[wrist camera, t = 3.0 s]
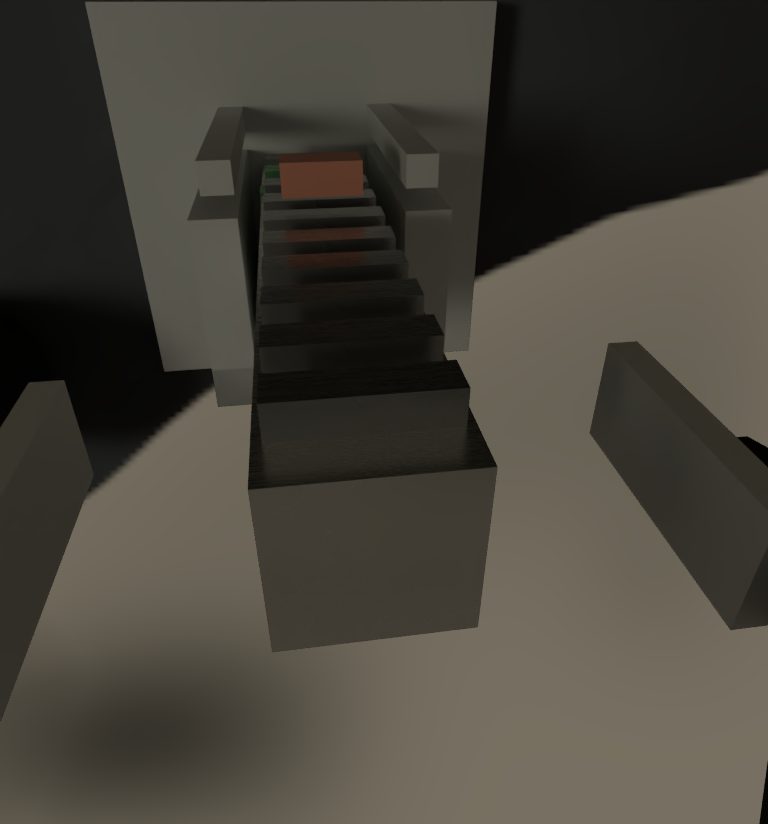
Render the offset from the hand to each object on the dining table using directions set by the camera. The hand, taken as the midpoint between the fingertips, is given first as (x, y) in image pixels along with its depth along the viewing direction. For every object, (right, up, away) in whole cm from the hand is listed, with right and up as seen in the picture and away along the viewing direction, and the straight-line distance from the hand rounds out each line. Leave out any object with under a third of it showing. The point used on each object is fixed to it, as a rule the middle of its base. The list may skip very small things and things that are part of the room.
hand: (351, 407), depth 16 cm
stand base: (-3, +10, +15) cm, 19 cm away
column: (-3, +9, +13) cm, 17 cm away
